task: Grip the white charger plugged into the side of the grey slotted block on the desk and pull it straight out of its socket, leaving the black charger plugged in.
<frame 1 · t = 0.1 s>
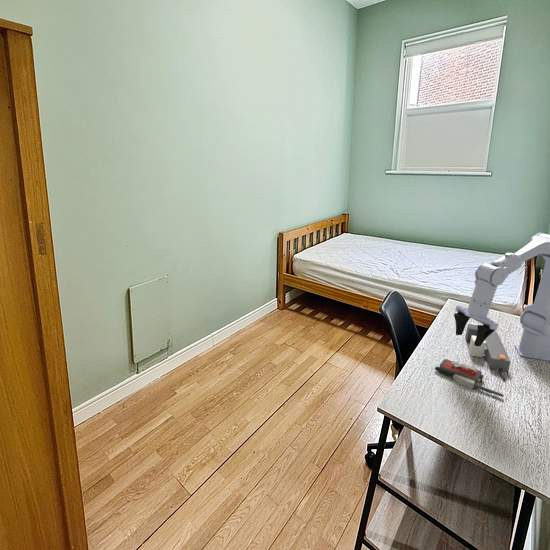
hand: (467, 340, 117), 11 cm above the table, tool pointing down, fingers open, 7 cm apart
grey slotted block: (492, 354, 129), on the table
charger: (481, 346, 127), point 3 cm above the table, slide at 0.0 cm
walkie-talkie: (468, 381, 114), on the table
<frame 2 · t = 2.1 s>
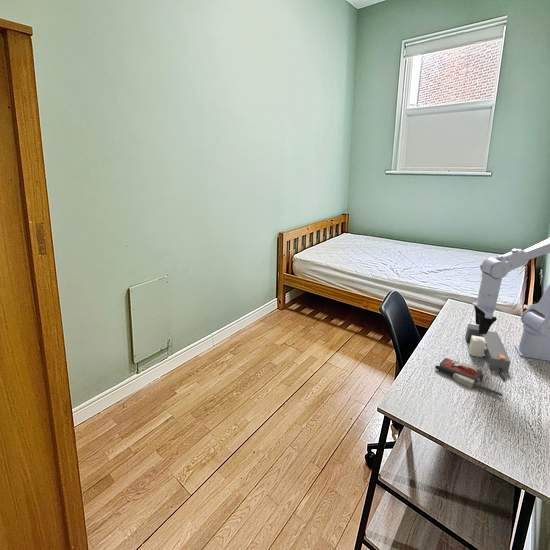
hand: (480, 328, 126), 10 cm above the table, tool pointing down, fingers open, 7 cm apart
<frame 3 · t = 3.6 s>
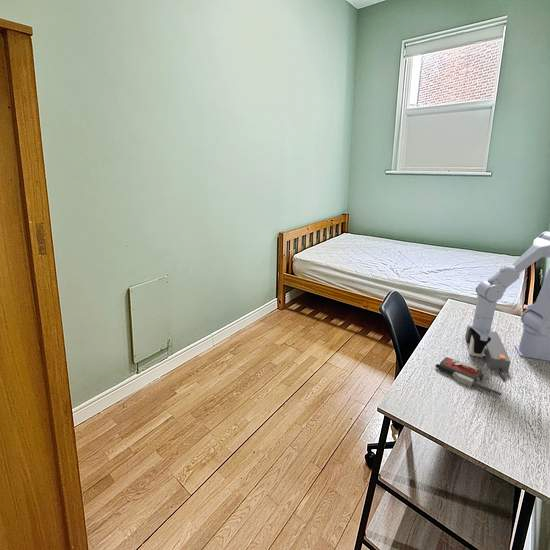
hand: (476, 349, 128), 2 cm above the table, tool pointing down, fingers closed on charger, 4 cm apart
charger: (481, 346, 127), point 3 cm above the table, slide at 0.0 cm, touching gripper
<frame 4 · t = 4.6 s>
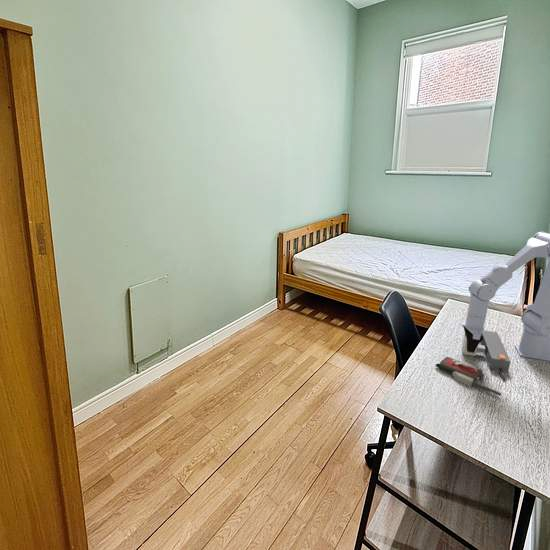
hand: (469, 348, 129), 2 cm above the table, tool pointing down, fingers closed on charger, 4 cm apart
charger: (474, 345, 128), point 3 cm above the table, slide at 2.2 cm, touching gripper
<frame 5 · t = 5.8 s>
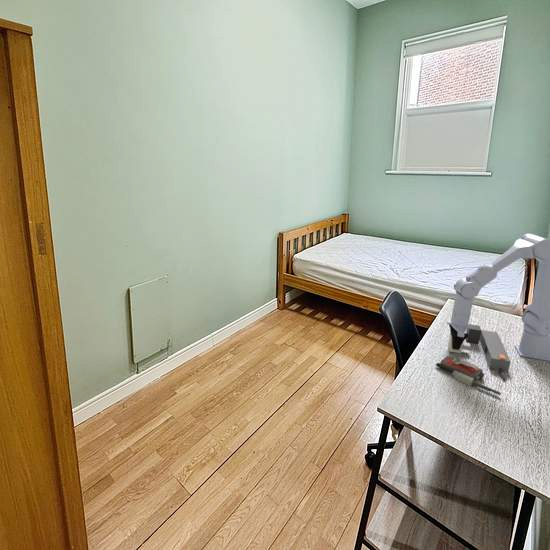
hand: (454, 345, 131), 2 cm above the table, tool pointing down, fingers closed on charger, 4 cm apart
charger: (459, 343, 130), point 3 cm above the table, slide at 7.0 cm, touching gripper
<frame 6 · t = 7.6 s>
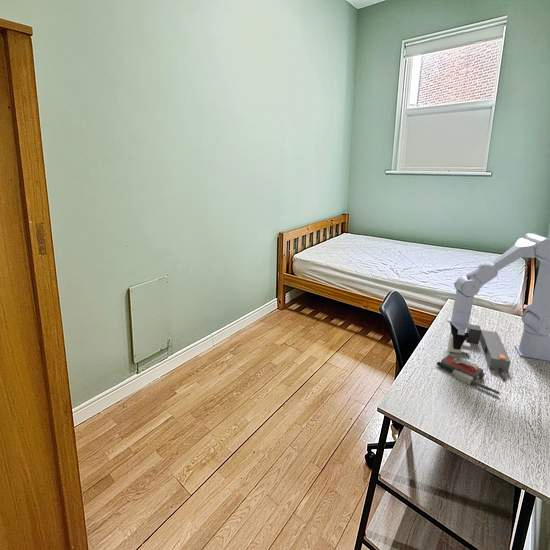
hand: (455, 343, 130), 3 cm above the table, tool pointing down, fingers open, 7 cm apart
charger: (459, 343, 130), point 3 cm above the table, slide at 7.0 cm
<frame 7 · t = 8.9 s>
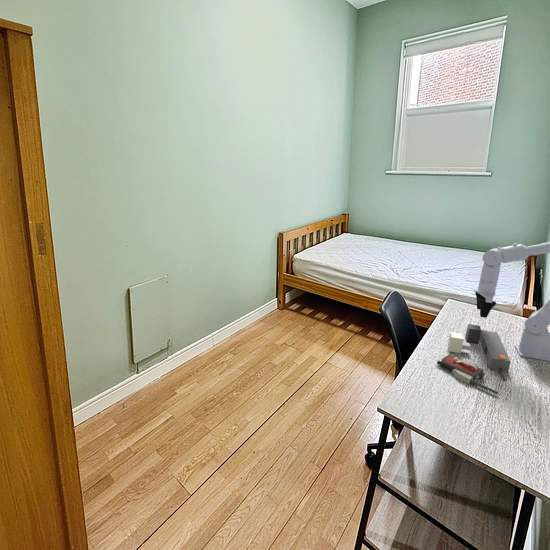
hand: (481, 313, 139), 10 cm above the table, tool pointing down, fingers open, 7 cm apart
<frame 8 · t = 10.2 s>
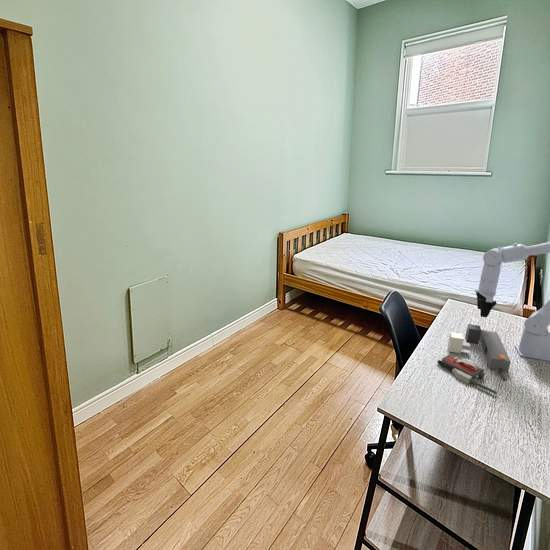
hand: (482, 312, 139), 10 cm above the table, tool pointing down, fingers open, 7 cm apart
at the end: charger slide at 7.0 cm; the gripper is holding nothing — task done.
